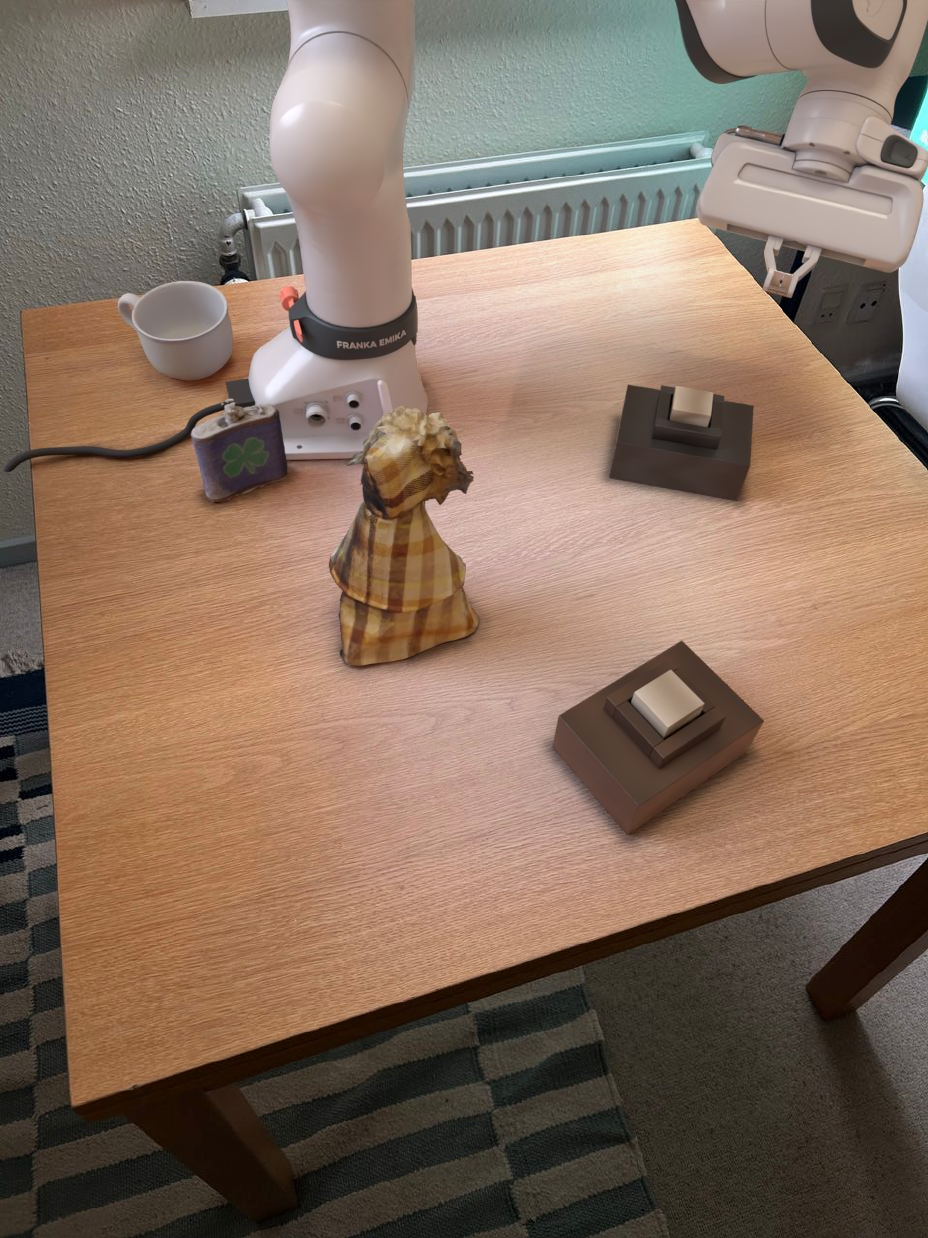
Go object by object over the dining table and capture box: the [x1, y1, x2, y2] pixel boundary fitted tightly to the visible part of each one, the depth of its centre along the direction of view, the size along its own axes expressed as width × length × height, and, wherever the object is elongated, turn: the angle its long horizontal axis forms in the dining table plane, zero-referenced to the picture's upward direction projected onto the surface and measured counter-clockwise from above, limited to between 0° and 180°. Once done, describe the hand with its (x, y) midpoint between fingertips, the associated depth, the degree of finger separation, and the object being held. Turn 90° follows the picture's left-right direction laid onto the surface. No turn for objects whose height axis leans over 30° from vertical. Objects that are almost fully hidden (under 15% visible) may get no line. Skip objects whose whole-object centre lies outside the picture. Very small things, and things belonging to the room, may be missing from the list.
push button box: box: [551, 640, 765, 836], centre depth 77 cm, size 14×10×7 cm
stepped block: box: [608, 384, 755, 502], centre depth 100 cm, size 14×10×7 cm
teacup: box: [117, 280, 234, 381], centre depth 108 cm, size 14×11×8 cm
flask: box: [190, 398, 290, 503], centre depth 94 cm, size 9×3×11 cm, turn 121°
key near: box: [631, 670, 704, 738], centre depth 74 cm, size 4×4×2 cm
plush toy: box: [328, 406, 481, 667], centre depth 79 cm, size 14×14×25 cm
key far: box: [669, 385, 714, 427], centre depth 97 cm, size 4×4×2 cm
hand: (776, 292), depth 89 cm, fingers closed
